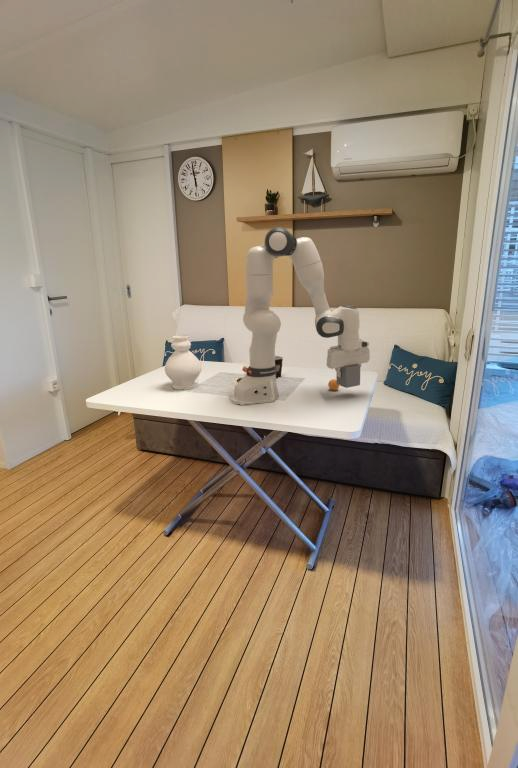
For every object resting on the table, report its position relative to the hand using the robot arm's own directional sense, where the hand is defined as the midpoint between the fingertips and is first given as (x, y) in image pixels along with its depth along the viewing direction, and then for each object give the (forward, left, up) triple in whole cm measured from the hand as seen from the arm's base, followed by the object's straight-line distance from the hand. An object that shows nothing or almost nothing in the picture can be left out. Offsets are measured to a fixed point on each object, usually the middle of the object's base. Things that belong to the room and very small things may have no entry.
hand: (348, 375), depth 178 cm
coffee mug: (-14, +46, -10) cm, 49 cm away
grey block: (0, 0, -4) cm, 4 cm away
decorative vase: (-59, +53, -10) cm, 80 cm away
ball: (0, +10, -7) cm, 12 cm away
